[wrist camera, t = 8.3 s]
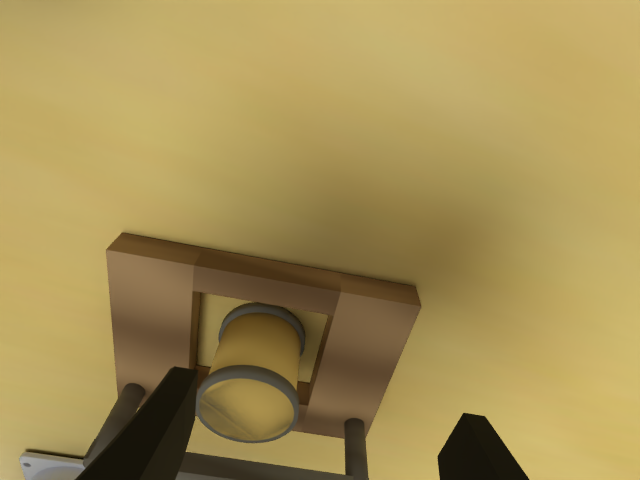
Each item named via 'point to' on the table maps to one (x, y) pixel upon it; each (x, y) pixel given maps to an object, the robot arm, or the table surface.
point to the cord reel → (253, 375)
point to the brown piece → (264, 287)
